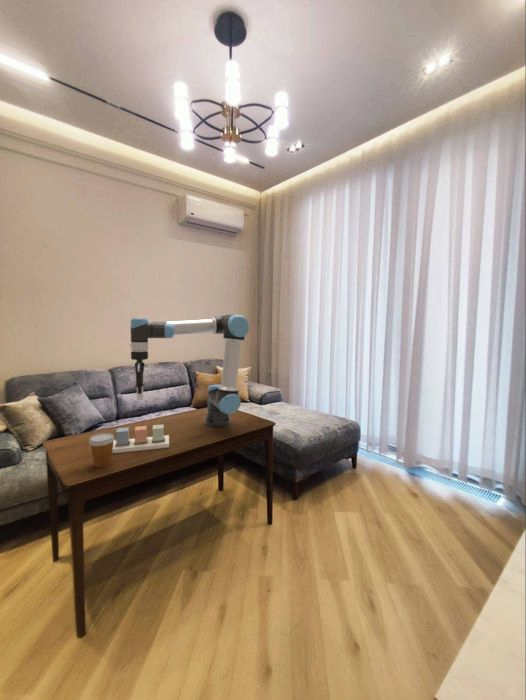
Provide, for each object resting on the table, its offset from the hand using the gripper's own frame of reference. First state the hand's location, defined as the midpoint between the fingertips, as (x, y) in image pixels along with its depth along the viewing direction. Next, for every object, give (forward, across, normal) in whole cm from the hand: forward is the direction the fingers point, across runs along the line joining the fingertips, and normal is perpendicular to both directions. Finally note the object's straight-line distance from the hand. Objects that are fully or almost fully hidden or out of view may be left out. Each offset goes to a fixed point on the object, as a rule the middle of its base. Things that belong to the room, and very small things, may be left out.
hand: (140, 399), depth 145 cm
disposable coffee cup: (+23, +16, -14) cm, 31 cm away
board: (+23, 0, 0) cm, 23 cm away
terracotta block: (+20, 0, 0) cm, 20 cm away
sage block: (+20, 0, +8) cm, 21 cm away
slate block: (+20, +1, -8) cm, 21 cm away
